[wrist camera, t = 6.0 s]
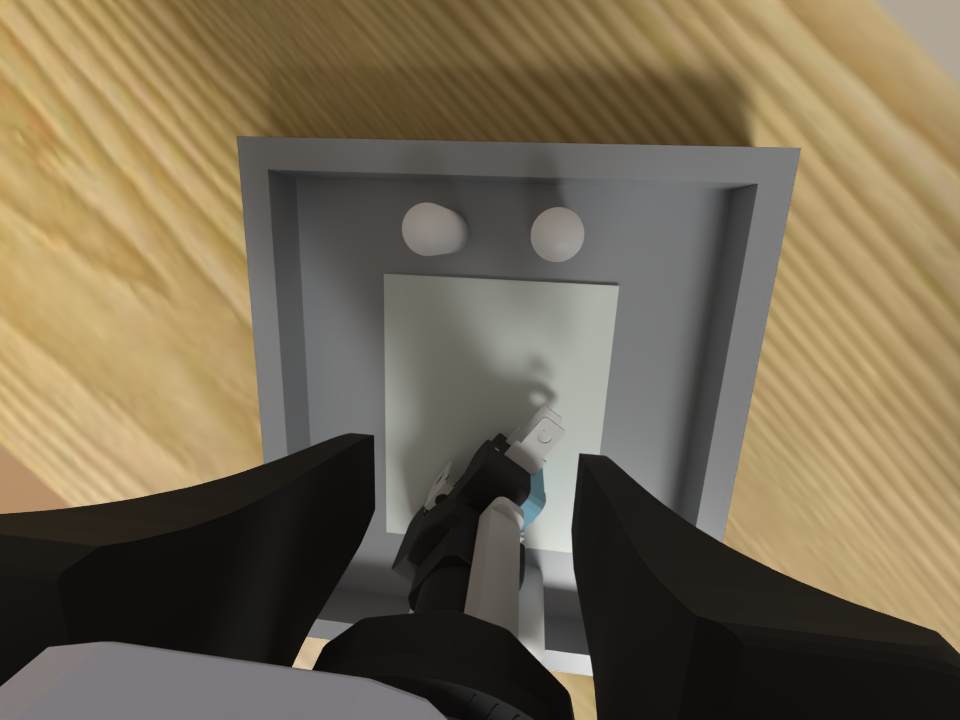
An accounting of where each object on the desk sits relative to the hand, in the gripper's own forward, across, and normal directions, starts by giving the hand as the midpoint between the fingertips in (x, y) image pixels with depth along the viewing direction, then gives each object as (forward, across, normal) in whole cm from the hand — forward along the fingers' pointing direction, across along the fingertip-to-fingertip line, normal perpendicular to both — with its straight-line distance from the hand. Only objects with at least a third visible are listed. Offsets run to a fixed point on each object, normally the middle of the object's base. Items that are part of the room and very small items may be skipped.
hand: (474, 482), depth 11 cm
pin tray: (+5, 0, 0) cm, 5 cm away
